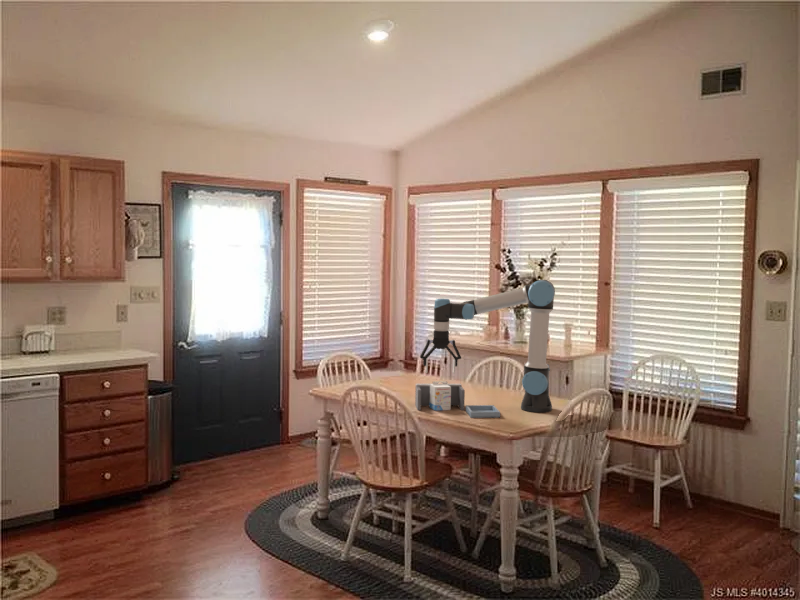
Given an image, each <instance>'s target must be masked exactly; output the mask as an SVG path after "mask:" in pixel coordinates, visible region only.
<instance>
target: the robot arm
mask: <svg viewBox="0 0 800 600" xmlns="http://www.w3.org/2000/svg"><path fill="white" fill-rule="evenodd" d="M555 288H556V287H555V286H554V284H553V283H552V282H551V281H549V280H548V279H539V280H536V281H534V282H532V283H530V284H526V285H524V286H523V287H522V288H516V289H513V290H510V291H509V290H508V291H505V292H501V293H497V294H493V295H489V296H485V297H480V298H477V299H471V300H467V301H466V300H465V301H463V302H461V303H457V302H456V303H455V302H454V303H453V302H450V301H451V300H450V299H449V298H436V299H435V300H434V307H433V339H426V344H425V346H424V348H423V350H422V352H421V353H420V356H419V357H420V359H422V360H423V367H425V368H424V370H425V371H424V372H425V373H426V374H428V370H429V369H428V368H429V367H428V365H429V359H428V358H429V357H430V356H431V355H432V354H433V352H434V351H436V349H437V350H441V349H442V350H446V351H448V353H449V354H450V355H451V356H452V357H453V359H452V374H456V367H458V361H459V360H461V359H462V356H461V354H460V351H459V350H458V346H456V341H455V340H454V339H452V340H450V339H449V337H450V332H449V330H450V320H451V319H455V320H466V321H467V320H473V319H474V316H476V315H481V314H485V313H489V312H493V311H497V310H501V309H506V308H510V307H515V306H520V305H524V304H527V305H528V306H527V308H528V309H529V311H530V322H529V338H528V349H527V350H528V353H527V361H526V363H525V362H524V366H523V376H522V379H521V385H522V388H523V389H524V395H523V398H522V401H521V403H520V409H521V410H523V411H525V412H526V411H527V412H530V413H549V412H552V411H553V406H552V405H553V404H552V401H551V397H550V393H549V392H550V391H549V390H550V372H551V371H550V370H551V369H550V365H549V364H547V356H548V355H547V353H548V342H549V341H548V340H549V339H548V338H549V325H550V324H549V323H550V314H551V312H553V310H554V302H555V301H554V299H555V295H556V289H555ZM431 344H433V346H432V347H431V348H430V349H429V346H430V345H431ZM449 344H450V345H452V347H453V349H454V352H455V353H456V354H455V353H454V352H453V351H452V350H451V348H450V347H449ZM428 349H429V350H428ZM427 350H428V352H427ZM426 352H427V353H426Z"/></svg>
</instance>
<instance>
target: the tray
mask: <svg viewBox="0 0 800 600" xmlns="http://www.w3.org/2000/svg"><path fill="white" fill-rule="evenodd" d="M464 411H465V413H466V414H467V415H468V416H469V418H471V419H476V418H477V419H478V418H479V419H481V418H482V419H483V418H484V419H485V418H488V419H491V418H493V419H495V418H496V419H497V418H498V419H499V418H501V412H500V410H499V409H498V408H497V407H496V406H495V405H494V404H492V405H491V404H490V405H489V404H488V405H487V404H486V405H485V404H484V405H483V404H482V405H481V404H478V405H477V404H476V405H475V404H473V405H471V404H468V405H467V404H465V406H464Z"/></svg>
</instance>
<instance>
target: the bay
mask: <svg viewBox="0 0 800 600" xmlns="http://www.w3.org/2000/svg"><path fill="white" fill-rule="evenodd" d="M430 384H431V383H415V396H414V398H415V401H414V404H415V408H416V410H417V411H421V407H423V406H427V407H428V406H429V402H430ZM448 385H449V386H450V387H451V405H453V406H452V407H454V405H455V406H456V405H458V408H459V409H460V410H461V411H465V396H466V395H465V388H463V386H462V384H461V383H448Z"/></svg>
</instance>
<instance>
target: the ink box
mask: <svg viewBox="0 0 800 600" xmlns="http://www.w3.org/2000/svg"><path fill="white" fill-rule="evenodd" d="M429 384H430V402H429V408H430V409H432V410H433V411H451V407H452V406H451V387H450V386H449V385H448V384H449V383H448V381H446V380H444V381H440V380H439V381H432V383H429Z"/></svg>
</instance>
